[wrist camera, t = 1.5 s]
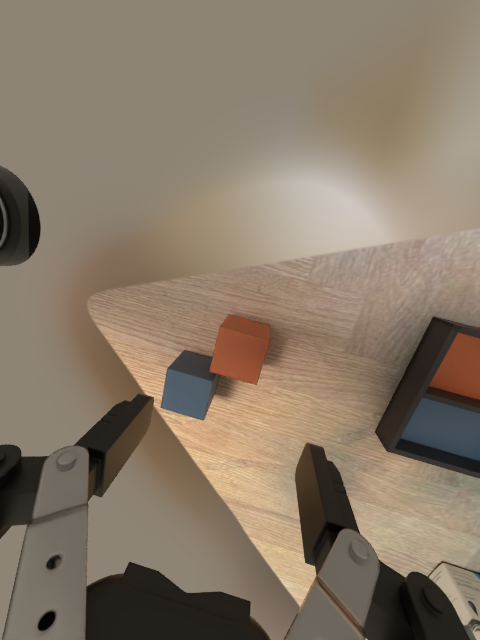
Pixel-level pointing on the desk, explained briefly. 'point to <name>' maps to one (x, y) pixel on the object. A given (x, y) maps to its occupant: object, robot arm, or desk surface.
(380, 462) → the desk surface
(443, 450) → the sorting tray
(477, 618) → the ink box
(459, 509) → the desk surface
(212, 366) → the terracotta block
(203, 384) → the slate block
